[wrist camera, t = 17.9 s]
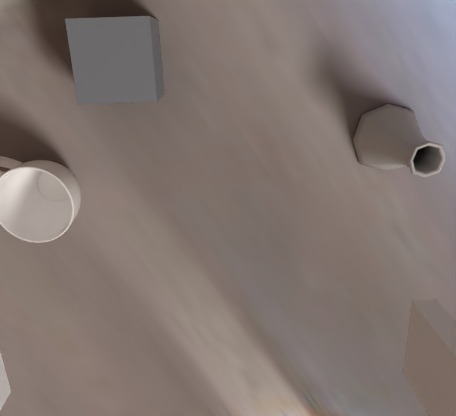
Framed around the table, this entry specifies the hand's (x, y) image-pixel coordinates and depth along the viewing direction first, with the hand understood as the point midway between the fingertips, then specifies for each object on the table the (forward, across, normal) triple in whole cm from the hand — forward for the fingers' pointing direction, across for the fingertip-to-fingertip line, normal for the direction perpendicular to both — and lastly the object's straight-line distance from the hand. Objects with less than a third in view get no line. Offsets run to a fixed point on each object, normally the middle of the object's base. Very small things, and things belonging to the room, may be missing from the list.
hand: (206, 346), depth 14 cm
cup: (+35, -18, -4) cm, 39 cm away
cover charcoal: (+35, -8, +8) cm, 37 cm away
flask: (+35, +19, -1) cm, 40 cm away
